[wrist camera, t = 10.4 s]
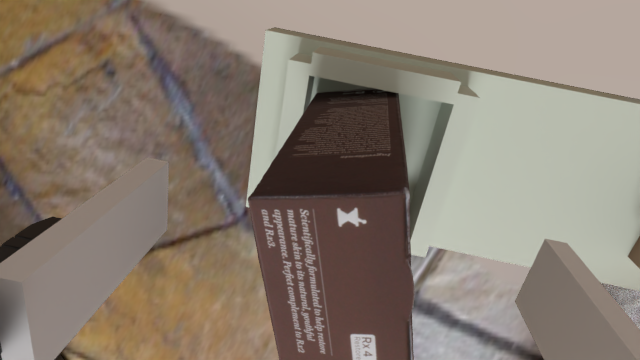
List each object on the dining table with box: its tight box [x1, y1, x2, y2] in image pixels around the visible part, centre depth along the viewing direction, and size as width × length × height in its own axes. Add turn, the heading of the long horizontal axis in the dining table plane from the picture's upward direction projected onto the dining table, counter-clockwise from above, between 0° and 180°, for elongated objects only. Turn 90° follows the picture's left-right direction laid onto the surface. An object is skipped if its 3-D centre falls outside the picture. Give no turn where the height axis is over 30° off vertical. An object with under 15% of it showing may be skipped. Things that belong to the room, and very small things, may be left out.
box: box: [248, 88, 414, 360], centre depth 16 cm, size 6×4×12 cm
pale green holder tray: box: [246, 28, 640, 291], centre depth 21 cm, size 30×10×4 cm, turn 80°
